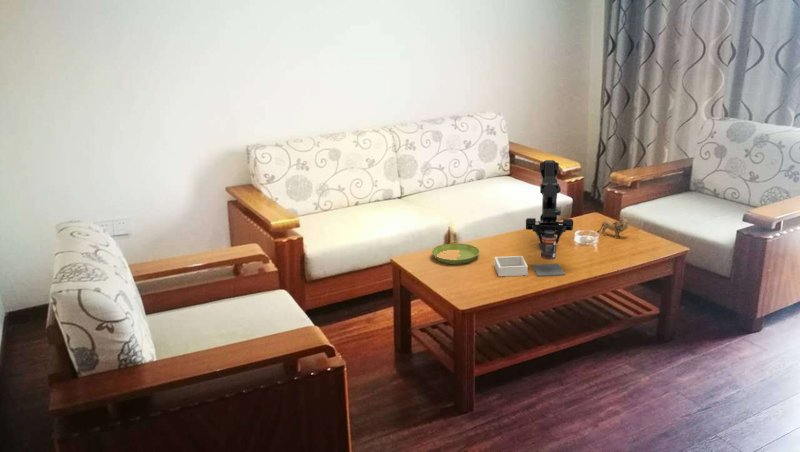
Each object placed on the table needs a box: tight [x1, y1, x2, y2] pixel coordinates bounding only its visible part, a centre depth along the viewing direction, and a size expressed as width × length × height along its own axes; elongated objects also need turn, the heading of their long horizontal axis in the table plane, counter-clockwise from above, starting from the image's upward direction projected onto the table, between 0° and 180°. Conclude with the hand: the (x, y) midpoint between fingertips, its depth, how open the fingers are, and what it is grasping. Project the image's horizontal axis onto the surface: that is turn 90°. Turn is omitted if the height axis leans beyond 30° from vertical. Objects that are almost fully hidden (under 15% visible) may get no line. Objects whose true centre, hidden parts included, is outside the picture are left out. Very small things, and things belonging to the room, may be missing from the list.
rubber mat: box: [531, 263, 566, 277], centre depth 271 cm, size 11×11×1 cm
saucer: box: [431, 243, 480, 265], centre depth 290 cm, size 21×21×3 cm
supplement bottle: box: [540, 230, 557, 261], centre depth 268 cm, size 6×6×11 cm
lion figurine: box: [596, 218, 629, 240], centre depth 305 cm, size 15×5×9 cm, turn 48°
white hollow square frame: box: [494, 255, 529, 278], centre depth 273 cm, size 12×12×4 cm
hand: (549, 243), depth 266 cm, fingers closed on supplement bottle, 6 cm apart
